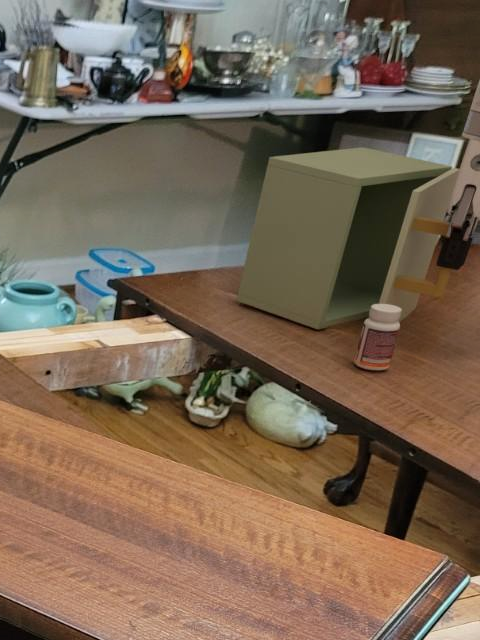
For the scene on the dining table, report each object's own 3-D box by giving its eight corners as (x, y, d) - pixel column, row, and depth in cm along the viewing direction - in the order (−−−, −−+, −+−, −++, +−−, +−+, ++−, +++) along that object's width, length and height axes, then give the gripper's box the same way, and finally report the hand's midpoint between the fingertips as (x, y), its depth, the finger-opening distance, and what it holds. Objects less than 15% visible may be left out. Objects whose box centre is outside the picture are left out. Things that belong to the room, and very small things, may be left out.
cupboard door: (458, 318, 179) (507, 176, 167) (420, 356, 162) (471, 200, 150) (409, 307, 182) (453, 167, 170) (366, 343, 165) (412, 190, 154)
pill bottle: (396, 369, 156) (412, 311, 151) (367, 372, 155) (383, 314, 150) (374, 358, 160) (389, 301, 155) (346, 361, 159) (361, 303, 154)
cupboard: (407, 308, 183) (452, 166, 171) (317, 329, 170) (359, 178, 158) (326, 282, 193) (363, 147, 181) (236, 300, 181) (269, 156, 169)
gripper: (516, 138, 140) (466, 283, 149) (534, 125, 151) (487, 260, 161) (454, 129, 143) (409, 271, 153) (476, 117, 154) (433, 250, 164)
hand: (449, 265), depth 157 cm, fingers closed on cupboard door
